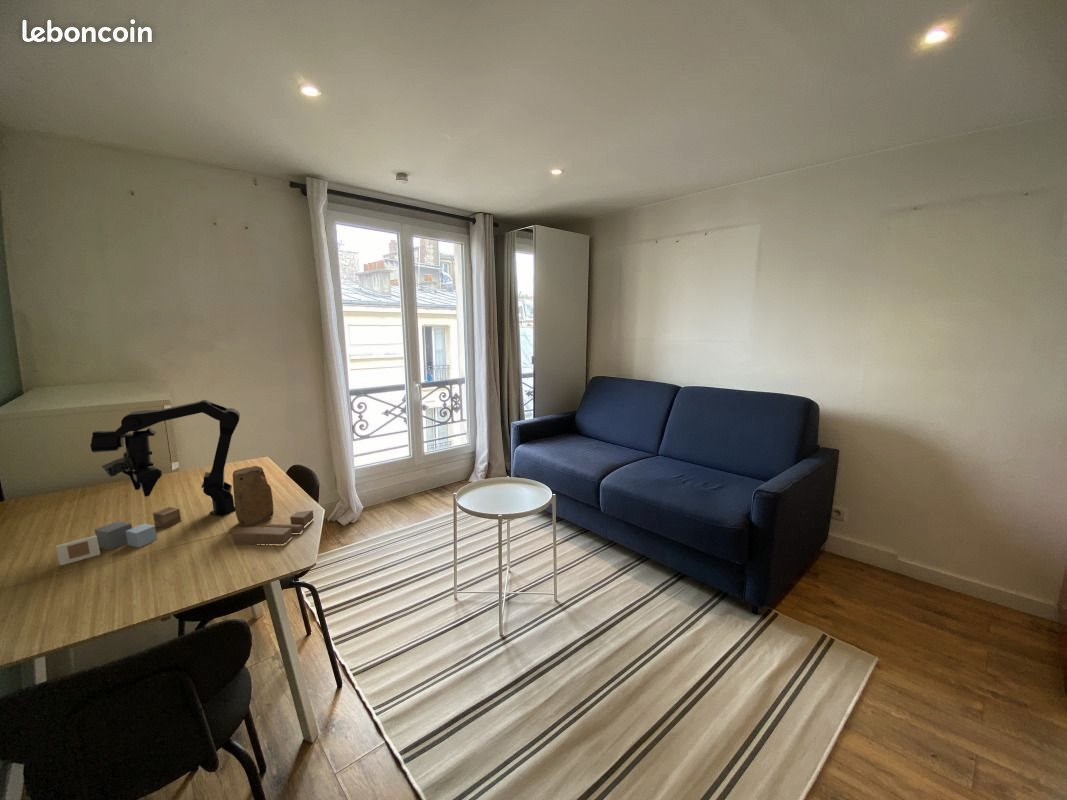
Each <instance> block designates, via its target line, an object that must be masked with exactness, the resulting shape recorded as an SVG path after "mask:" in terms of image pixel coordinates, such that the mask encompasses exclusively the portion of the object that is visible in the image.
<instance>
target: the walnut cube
mask: <svg viewBox="0 0 1067 800" xmlns="http://www.w3.org/2000/svg"><path fill="white" fill-rule="evenodd" d="M152 517H153V522H154V526H155V527H158V528H162V529H167V528H169V527H171V526H174V525H176V524H179V523H181V522H182V518H181V511H180V508H176V507H173V506H168V507H164V508H162V509H160V510H157V511H154V512H152Z"/></svg>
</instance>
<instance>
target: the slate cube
mask: <svg viewBox="0 0 1067 800" xmlns="http://www.w3.org/2000/svg"><path fill="white" fill-rule="evenodd" d="M156 530H157V529H156V526H155V525H151V524H147V523H143V524H142V523H141V524H139V525H137V526H135V527H132V529H129V530H126V531H125V532H126V537H127V546H131V547H135V548H139V549H140V548H141V547H144V546H146V545H148V544H151V543H153V542H156V541H158V536H157V531H156Z"/></svg>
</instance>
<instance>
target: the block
mask: <svg viewBox="0 0 1067 800" xmlns="http://www.w3.org/2000/svg"><path fill="white" fill-rule="evenodd" d="M232 490H233V501H234V507H235V510H234V512H235V516H236V519H237V522H238V525H240V526H242V527H252V526H251V525H253V526H256V525H258V523H259V524H261V523H263V522H262V521H264V520H266V521H268V520H267V519H269V518H270V517H271V516H272V517H273V516H274V498H273V492H272V487H271V485H270V484H269V483H268V480H267V478H266V475H265V472H264V469H263V467H261V466H258V465H252V466H249V467H247V466H246V467H243V468H238V469H236V470H233V472H232ZM272 517H271V518H272ZM271 518H270V519H271ZM270 519H269V520H270ZM260 522H261V523H260ZM264 522H265V521H264ZM255 524H256V525H255Z"/></svg>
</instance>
